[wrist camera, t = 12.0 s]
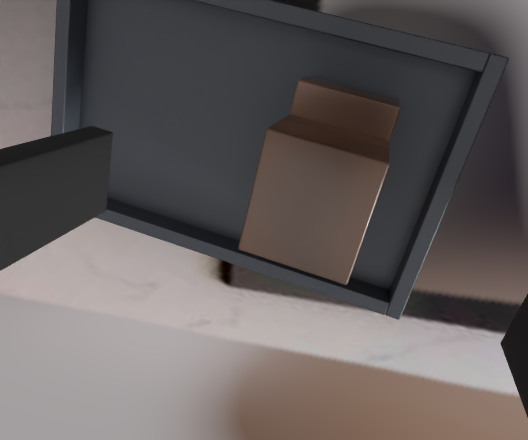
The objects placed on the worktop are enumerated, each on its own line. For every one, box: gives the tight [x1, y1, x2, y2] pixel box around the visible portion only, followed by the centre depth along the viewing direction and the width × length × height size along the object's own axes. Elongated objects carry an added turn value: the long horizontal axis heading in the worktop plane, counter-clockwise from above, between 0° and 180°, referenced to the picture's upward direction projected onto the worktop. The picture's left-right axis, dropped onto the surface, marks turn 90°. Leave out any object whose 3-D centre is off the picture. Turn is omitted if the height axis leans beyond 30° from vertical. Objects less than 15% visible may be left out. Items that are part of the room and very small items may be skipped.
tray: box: [51, 0, 509, 319], centre depth 24 cm, size 22×14×2 cm, turn 77°
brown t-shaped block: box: [239, 76, 401, 285], centre depth 20 cm, size 4×8×8 cm, turn 167°
